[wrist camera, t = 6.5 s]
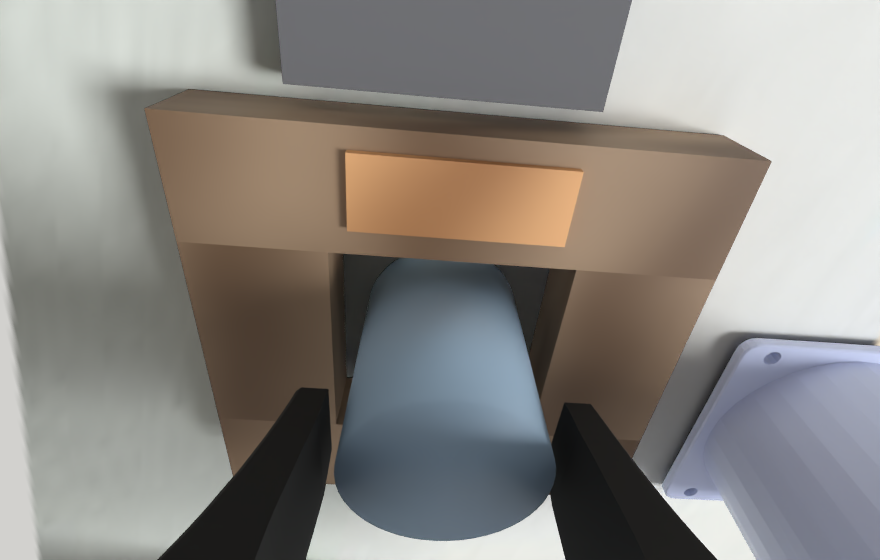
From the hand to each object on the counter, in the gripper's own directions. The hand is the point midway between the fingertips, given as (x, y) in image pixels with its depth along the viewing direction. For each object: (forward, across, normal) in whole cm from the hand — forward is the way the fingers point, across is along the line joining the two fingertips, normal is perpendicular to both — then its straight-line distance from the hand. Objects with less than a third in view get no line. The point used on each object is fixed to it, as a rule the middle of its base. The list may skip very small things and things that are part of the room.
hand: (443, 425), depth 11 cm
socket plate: (+4, 0, 0) cm, 4 cm away
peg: (+5, 0, 0) cm, 5 cm away
